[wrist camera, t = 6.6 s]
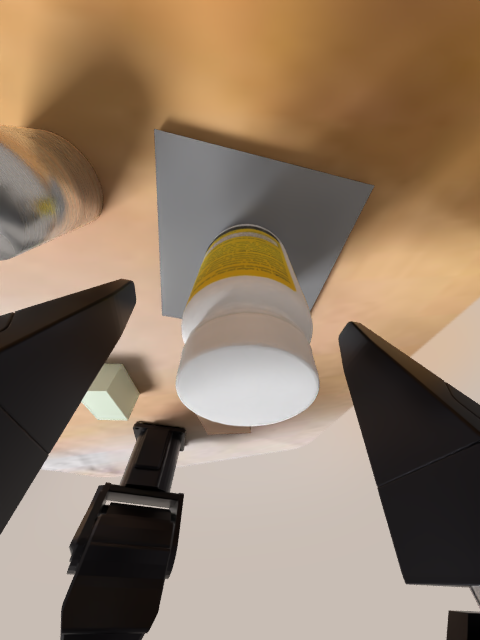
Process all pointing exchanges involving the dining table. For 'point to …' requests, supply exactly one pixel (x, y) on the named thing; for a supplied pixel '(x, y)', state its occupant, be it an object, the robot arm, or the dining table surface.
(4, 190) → the metal shaker
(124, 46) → the dining table surface
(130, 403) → the sage box
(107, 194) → the dining table surface
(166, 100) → the dining table surface
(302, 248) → the coaster
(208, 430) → the walnut block
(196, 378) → the supplement bottle
